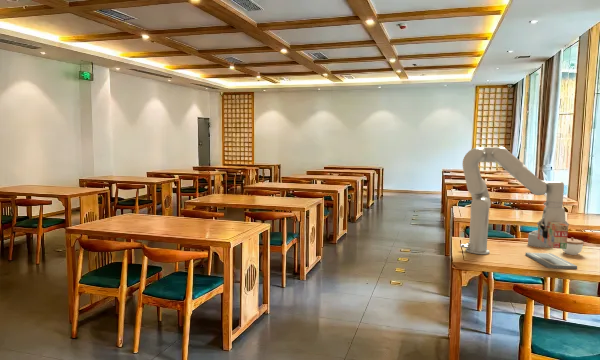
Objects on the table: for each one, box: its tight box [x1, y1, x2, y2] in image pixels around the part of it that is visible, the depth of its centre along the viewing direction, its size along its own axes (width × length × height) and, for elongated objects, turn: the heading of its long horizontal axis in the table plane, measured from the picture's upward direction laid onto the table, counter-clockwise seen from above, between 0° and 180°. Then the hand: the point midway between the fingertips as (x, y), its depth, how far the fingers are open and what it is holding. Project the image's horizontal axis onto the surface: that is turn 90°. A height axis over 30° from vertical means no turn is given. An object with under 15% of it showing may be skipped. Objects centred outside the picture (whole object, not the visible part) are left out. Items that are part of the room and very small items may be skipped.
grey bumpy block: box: [527, 229, 551, 248], centre depth 257 cm, size 10×13×9 cm
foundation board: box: [524, 252, 578, 270], centre depth 221 cm, size 14×24×2 cm, turn 177°
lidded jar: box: [561, 237, 584, 256], centre depth 238 cm, size 11×11×9 cm
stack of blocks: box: [537, 222, 569, 250], centre depth 220 cm, size 21×6×12 cm, turn 170°
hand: (551, 237), depth 220 cm, fingers closed on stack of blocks, 6 cm apart
